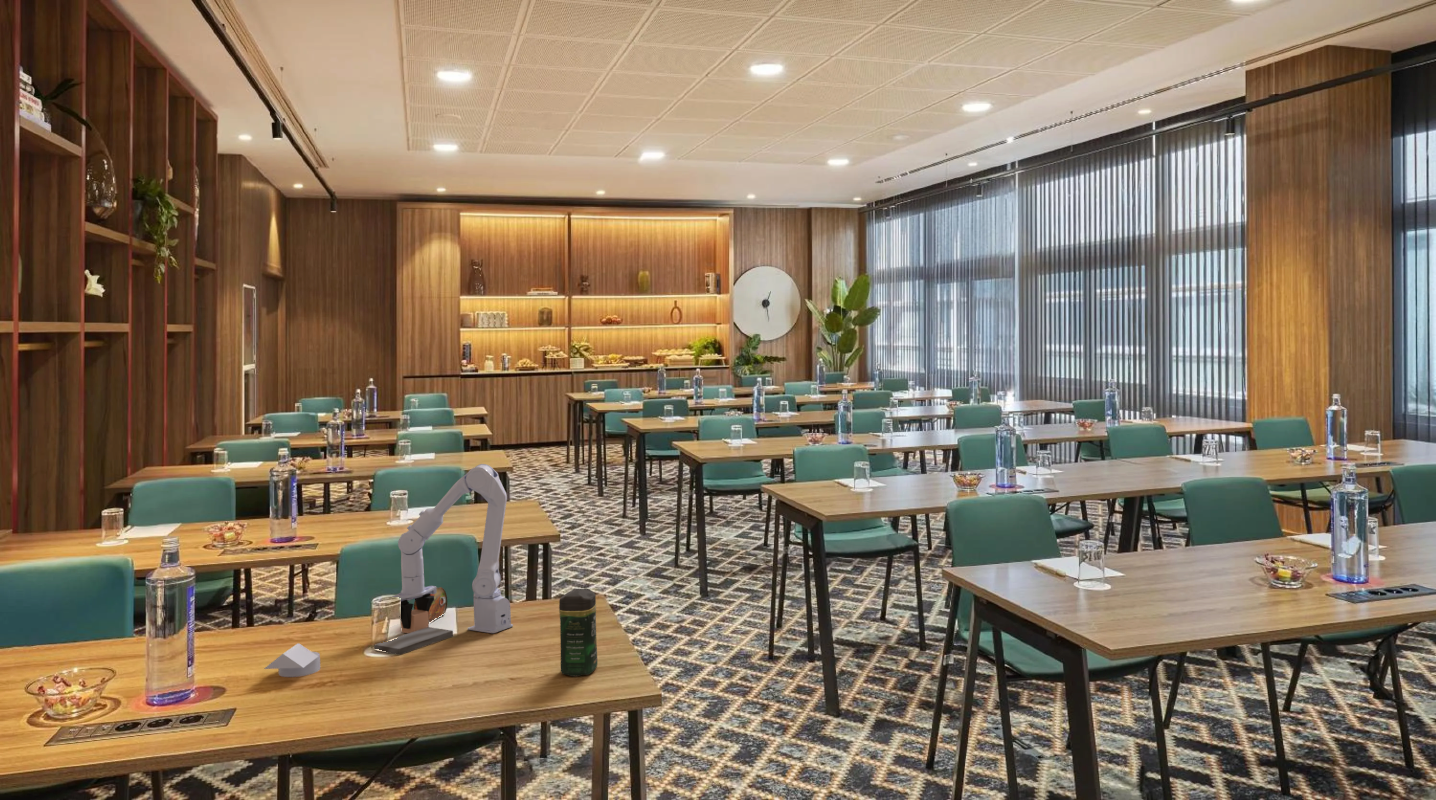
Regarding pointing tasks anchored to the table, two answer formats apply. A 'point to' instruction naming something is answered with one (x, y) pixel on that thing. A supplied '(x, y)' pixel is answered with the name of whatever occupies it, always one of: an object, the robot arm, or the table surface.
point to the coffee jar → (578, 632)
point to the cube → (417, 621)
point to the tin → (436, 604)
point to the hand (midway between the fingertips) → (414, 625)
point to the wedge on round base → (296, 662)
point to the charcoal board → (414, 640)
